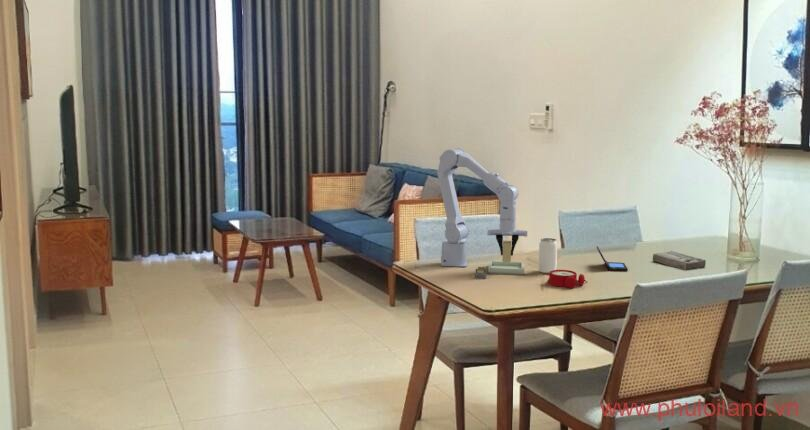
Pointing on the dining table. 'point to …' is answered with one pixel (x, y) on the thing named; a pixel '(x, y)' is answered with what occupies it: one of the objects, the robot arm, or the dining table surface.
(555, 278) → the alarm clock
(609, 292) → the dining table surface
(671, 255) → the box
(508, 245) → the carton
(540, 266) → the can
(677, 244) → the dining table surface
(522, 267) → the tray
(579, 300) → the dining table surface
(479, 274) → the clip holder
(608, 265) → the handheld game console
